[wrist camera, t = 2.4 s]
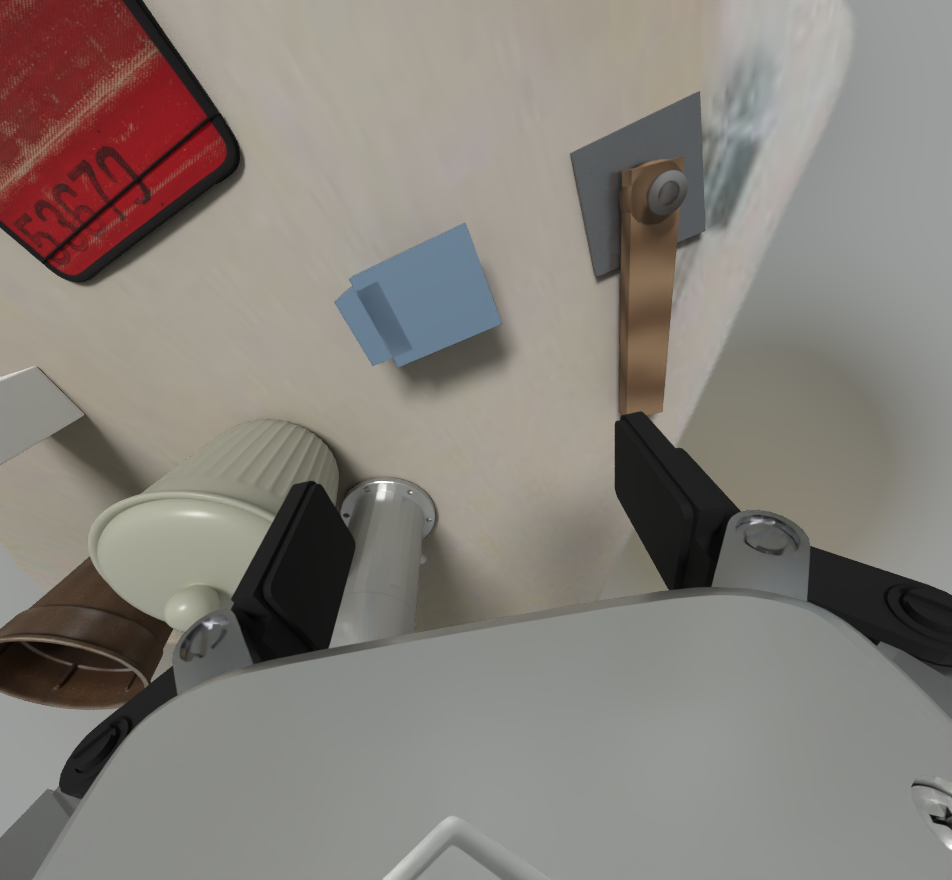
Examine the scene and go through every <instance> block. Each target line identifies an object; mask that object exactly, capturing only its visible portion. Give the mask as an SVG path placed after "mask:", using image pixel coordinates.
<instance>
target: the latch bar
mask: <svg viewBox="0 0 952 880" xmlns="http://www.w3.org/2000/svg"><path fill="white" fill-rule="evenodd" d="M683 165H684V157H678V158H673V159H660V160H654V161H649V162H645V163H642V164H640V165H638V166H637V167H636V168H633V169H629V170H625V171H622V187H621V191H620V196H619V205H620V210H621V304H620V408H619V411H620V412H621V413H622V415H625V414H630V413H634V412H639V411H642V412H643V413H645V415H650V414H655V413H659V412H663V400H664V388H665V376H666V365H667V353H668V341H669V330H670V318H671V306H672V294H673V283H674V271H675V259H676V247H677V236H678V224H679V212H680V206H681V204H682V203H683V201H684V199H685V197H686V194H687V190H688V183H687V179H686V177H685V175H684V174H683Z"/></svg>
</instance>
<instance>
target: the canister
mask: <svg viewBox="0 0 952 880" xmlns="http://www.w3.org/2000/svg"><path fill="white" fill-rule="evenodd" d="M306 481H315V482H316V483H317V484H321V485H322V486H323V488H324V489H325V491H326V493H327V494H328V496H329V498H330V499H331V501H332V502H333V504H334V506H335V505H336V499H337V493H338V486H339V470H338V466H337V464H336V460H335V458H334V457H333V454H332V452H331V451H330V450H329V449H328V446H327V445H326V444H324V443H323V442H322V440H321V439H320V438H318V437H317V436H316V435H315V434H314V433H311V432H310V431H308V430H307V429H305V428H302V427H300V426H299V425H295V424H292V423H290V422H284V421H281V420H272V419H266V420H261V419H259V420H255V421H248V422H245V423H243V424H240V425H237V426H235V427H233V428H231V429H230V430H228V431H226V432H224V433H223V434H221V435H220V436H218V437H217V438H215V439H214V440H212V441H211V442H210V443H208V444H207V445H205V446H204V447H202V448H201V449H200V450H198V451H197V452H195V453H194V454H193V455H191V456H190V457H189V458H187V459H186V460H185V461H183V462H182V463H181V464H179V465H178V466H177V467H175V468H174V469H173V470H171V471H170V472H169V473H167V474H166V475H165V476H163V477H162V478H161V479H159V480H158V481H157V482H155V483H154V484H153V485H151V486H150V487H149V488H147V489H146V490H145V491H143V492H142V493H141V494H139V495H135V496H132V497H129V498H126V499H124V500H121V501H119V502H117V503H115V504H113V505H112V506H110V507H109V508H107V509H106V510H105V511H104V512H102V513H101V514H100V515H99V516H98V518H97V519H96V520H95V521H94V523H93V524H92V526H91V529H90V531H89V535H88V550H89V554H90V558H91V560H92V562H93V564H94V566H95V568H96V569H97V571H98V572H99V574H100V575H101V576H102V578H103V579H104V580H105V581H106V582H107V583H108V584H109V585H110V586H111V587H112V589H113V590H114V591H115V592H116V593H117V594H118V595H119V596H121V597H122V598H123V599H124V600H125V601H127V602H128V603H130V604H131V605H133V606H134V607H136V608H137V609H139V610H141V611H143V612H144V613H146V614H148V615H150V616H153V617H155V618H157V619H160V620H162V621H165V622H166V623H167V624H168V625H169V626H170V627H172V628H174V629H176V630H179V631H184V632H186V631H187V630H188V629H189V627H190V626H192V625H193V624H194V623H195V622H196V621H198V620H199V619H200V618H202V617H204V616H205V615H207V614H209V613H211V612H213V611H216V610H220V609H228V610H231V608H232V606H233V604H234V602H233V601H232V600H231V598H232V596H233V594H234V592H235V590H236V589H237V587H238V585H239V583H240V581H241V579H242V578H243V576H244V574H245V572H246V570H247V568H248V566H249V565H250V563H251V561H252V559H253V557H254V555H255V554H256V552H257V550H258V548H259V546H260V544H261V542H262V541H263V539H264V537H265V535H266V533H267V531H268V530H269V528H270V526H271V524H272V522H273V520H274V518H275V517H276V515H277V513H278V511H279V509H280V507H281V506H282V504H283V502H284V500H285V498H286V496H287V494H288V493H289V491H290V489H291V487H292V486H293V485H294V484H297V483H302V482H306Z"/></svg>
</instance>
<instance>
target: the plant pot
mask: <svg viewBox="0 0 952 880" xmlns="http://www.w3.org/2000/svg"><path fill="white" fill-rule="evenodd" d="M172 630H173V628H172V627H170V626H169V625H168V624H167V623H166V622H165V621H162V620H160V619H157V618H155V617H153V616H150V615H148V614H146V613H144V612H143V611H141V610H139V609H137V608H136V607H134V606H133V605H131V604H130V603H128V602H127V601H125V600H124V599H123V598H122V597H121V596H119V595H118V594H117V593H116V592H115V591H114V590H113V589H112V587H111V586H110V585H109V584H108V583H107V582H106V581H105V580H104V579H103V578H102V576H101V575H100V574H99V572H98V571H97V569H96V568H95V566H94V564H93V562H92V560H91V558H90V557H88V558H87V559H86V560H85V561H84V562H83V563H82V564H80V565H79V566H78V567H77V568H76V569H75V570H74V571H72V572H71V573H70V574H69V575H68V576H67V577H65V578H64V579H63V580H62V581H61V582H60V583H59V584H57V585H56V586H55V587H54V588H53V589H52V590H50V591H49V592H48V593H47V594H46V595H44V596H43V597H42V598H41V599H40V600H39V601H37V602H36V603H35V604H34V605H33V606H32V607H30V608H29V609H28V610H26V611H23V612H21V613H20V614H18V615H17V616H15V617H14V618H13V619H12V620H11V621H9V622H8V623H7V624H6V625H5V626H3V627H2V628H1V629H0V692H1V693H4V694H6V695H9V696H12V697H15V698H18V699H22V700H25V701H28V702H32V703H37V704H41V705H46V706H52V707H59V708H67V709H82V710H95V709H96V710H99V709H114V708H120V707H122V706H123V705H124V704H125V703H127V702H128V701H129V700H130V699H132V698H133V697H134V696H135V695H137V694H138V693H139V692H140V691H142V690H143V689H144V688H145V687H147V686H148V685H149V684H150V683H151V681H150V680H151V678H152V676H153V674H154V672H155V670H156V668H157V666H158V664H159V662H160V660H161V658H162V655H163V648H164V646H165V644H166V642H167V640H168V638H169V636H170V634H171V632H172Z"/></svg>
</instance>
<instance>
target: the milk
mask: <svg viewBox="0 0 952 880" xmlns="http://www.w3.org/2000/svg"><path fill="white" fill-rule="evenodd" d="M84 415H85V414H84V413H83V412H82V411H81V410H80V409H79V408H78V407H77V406H76V405H75V404H74V403H73V402H72V401H71V400H70V399H69V398H68V397H67V396H66V395H65V394H64V393H63V392H62V391H61V390H60V389H59V388H58V387H57V386H56V385H55V384H54V383H53V382H52V381H51V380H50V379H49V378H48V377H47V376H46V375H45V374H44V373H43V372H42V371H41V370H40V369H39V368H37V367H36V366H34V367H31V368H28V369H24V370H21V371H18V372H15V373H12V374H9V375H6V376H2V377H0V465H2V464H3V463H5V462H7V461H8V460H10V459H12V458H13V457H15V456H17V455H19V454H20V453H22V452H24V451H25V450H27V449H29V448H30V447H32V446H34V445H35V444H37V443H39V442H40V441H42V440H44V439H46V438H47V437H49V436H51V435H52V434H54V433H56V432H57V431H59V430H61V429H62V428H64V427H66V426H67V425H69V424H71V423H73V422H74V421H76V420H78V419H79V418H81V417H83V416H84Z"/></svg>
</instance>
